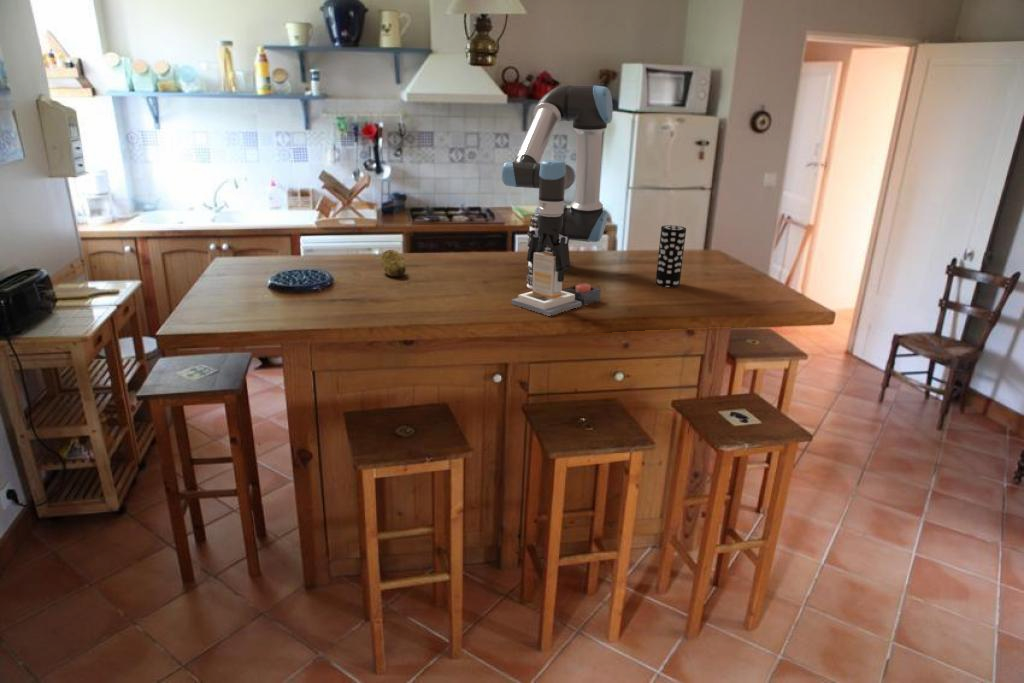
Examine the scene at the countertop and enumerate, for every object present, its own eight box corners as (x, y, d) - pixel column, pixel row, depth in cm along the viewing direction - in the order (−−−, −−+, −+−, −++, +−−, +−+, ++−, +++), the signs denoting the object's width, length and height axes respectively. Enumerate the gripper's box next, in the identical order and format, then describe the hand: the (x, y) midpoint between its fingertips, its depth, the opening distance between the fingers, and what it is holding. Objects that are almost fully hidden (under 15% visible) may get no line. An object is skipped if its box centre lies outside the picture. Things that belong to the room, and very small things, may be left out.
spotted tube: (679, 288, 232) (686, 231, 225) (655, 286, 234) (661, 229, 226) (679, 282, 240) (685, 226, 233) (655, 280, 241) (661, 224, 234)
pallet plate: (511, 304, 211) (511, 293, 210) (544, 295, 221) (544, 284, 220) (548, 316, 200) (549, 305, 199) (581, 306, 210) (582, 296, 209)
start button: (571, 296, 216) (572, 285, 214) (581, 293, 219) (582, 282, 218) (583, 299, 212) (584, 288, 211) (593, 296, 216) (593, 285, 214)
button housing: (564, 300, 216) (565, 288, 215) (580, 295, 221) (581, 283, 220) (583, 306, 211) (584, 293, 209) (599, 301, 216) (600, 289, 215)
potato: (382, 279, 233) (381, 256, 230) (381, 269, 245) (380, 248, 242) (406, 278, 235) (405, 256, 232) (404, 269, 247) (403, 247, 244)
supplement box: (561, 296, 208) (564, 254, 204) (551, 299, 205) (553, 257, 200) (541, 290, 214) (543, 249, 209) (531, 293, 210) (533, 252, 206)
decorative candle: (520, 286, 229) (522, 213, 220) (535, 281, 236) (538, 209, 227) (542, 292, 224) (545, 216, 215) (557, 286, 231) (561, 213, 222)
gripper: (516, 210, 205) (514, 282, 213) (569, 221, 191) (564, 298, 199) (533, 208, 210) (530, 278, 218) (586, 218, 196) (581, 293, 204)
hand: (546, 287), depth 208 cm, fingers closed on supplement box, 8 cm apart
